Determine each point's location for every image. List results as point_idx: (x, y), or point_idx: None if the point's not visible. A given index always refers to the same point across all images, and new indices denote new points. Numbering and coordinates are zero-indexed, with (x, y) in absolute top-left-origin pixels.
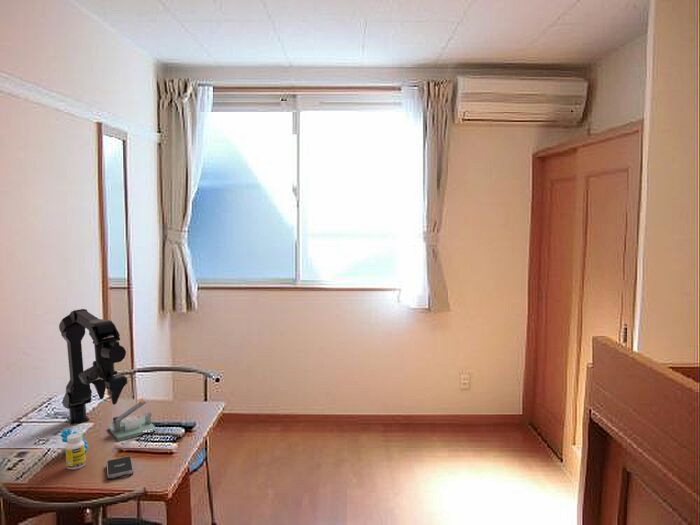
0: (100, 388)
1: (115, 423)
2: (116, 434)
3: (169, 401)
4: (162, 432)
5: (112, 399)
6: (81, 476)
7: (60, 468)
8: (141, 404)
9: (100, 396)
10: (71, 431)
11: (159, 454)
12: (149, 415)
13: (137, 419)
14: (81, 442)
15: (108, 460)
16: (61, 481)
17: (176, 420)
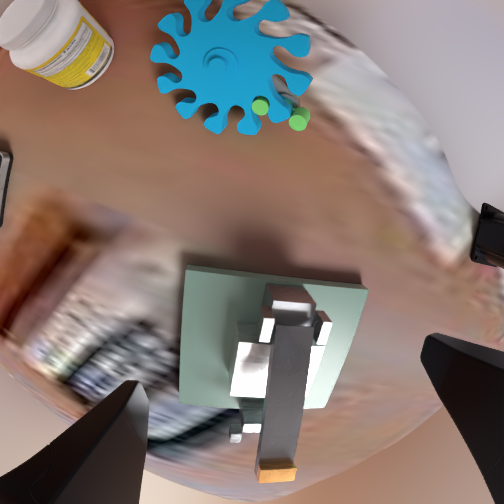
0: (496, 407)
1: (281, 310)
2: (235, 280)
3: (375, 450)
4: (154, 398)
5: (80, 418)
6: (16, 74)
7: (117, 17)
8: (257, 459)
9: (442, 351)
10: (293, 54)
11: (3, 308)
12: (230, 430)
13: (249, 393)
14: (12, 54)
15: (2, 158)
16: None
17: (227, 448)
